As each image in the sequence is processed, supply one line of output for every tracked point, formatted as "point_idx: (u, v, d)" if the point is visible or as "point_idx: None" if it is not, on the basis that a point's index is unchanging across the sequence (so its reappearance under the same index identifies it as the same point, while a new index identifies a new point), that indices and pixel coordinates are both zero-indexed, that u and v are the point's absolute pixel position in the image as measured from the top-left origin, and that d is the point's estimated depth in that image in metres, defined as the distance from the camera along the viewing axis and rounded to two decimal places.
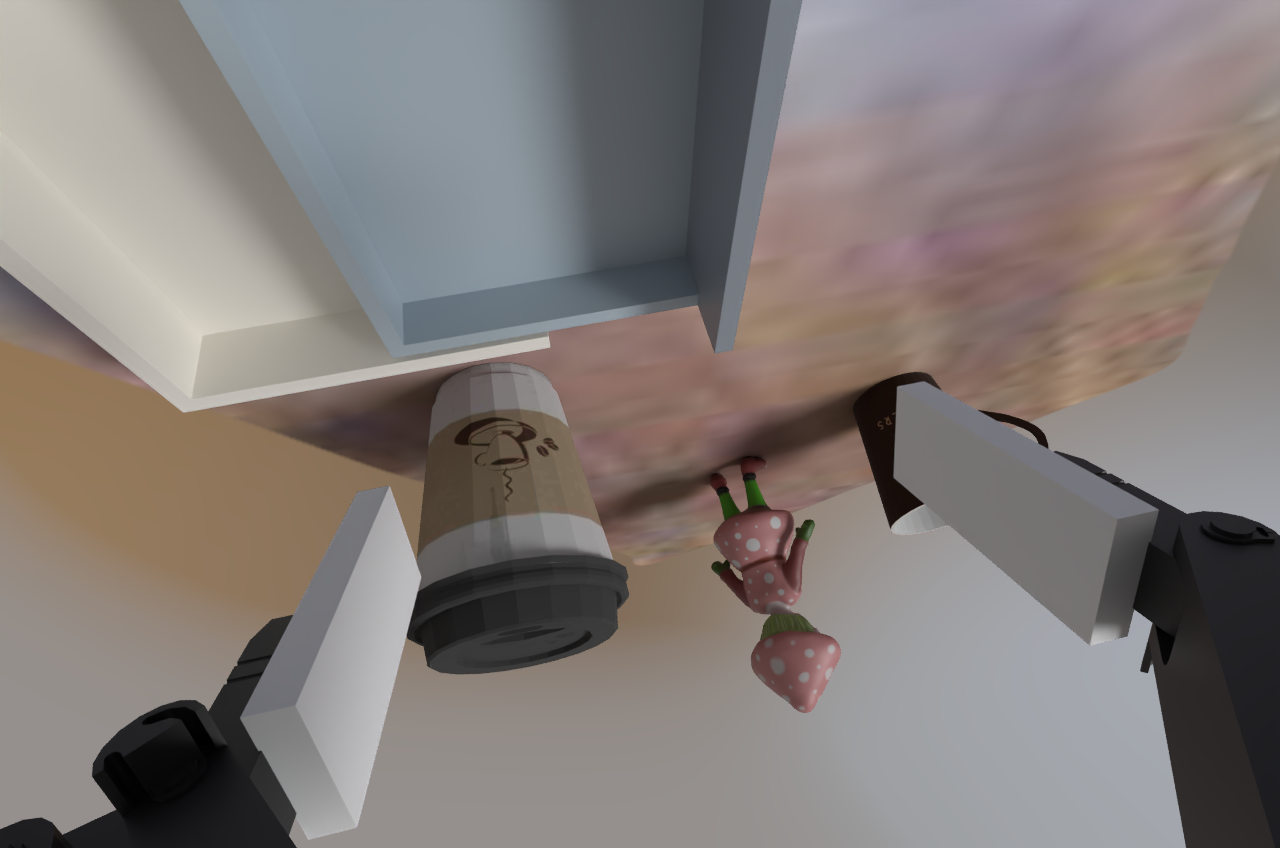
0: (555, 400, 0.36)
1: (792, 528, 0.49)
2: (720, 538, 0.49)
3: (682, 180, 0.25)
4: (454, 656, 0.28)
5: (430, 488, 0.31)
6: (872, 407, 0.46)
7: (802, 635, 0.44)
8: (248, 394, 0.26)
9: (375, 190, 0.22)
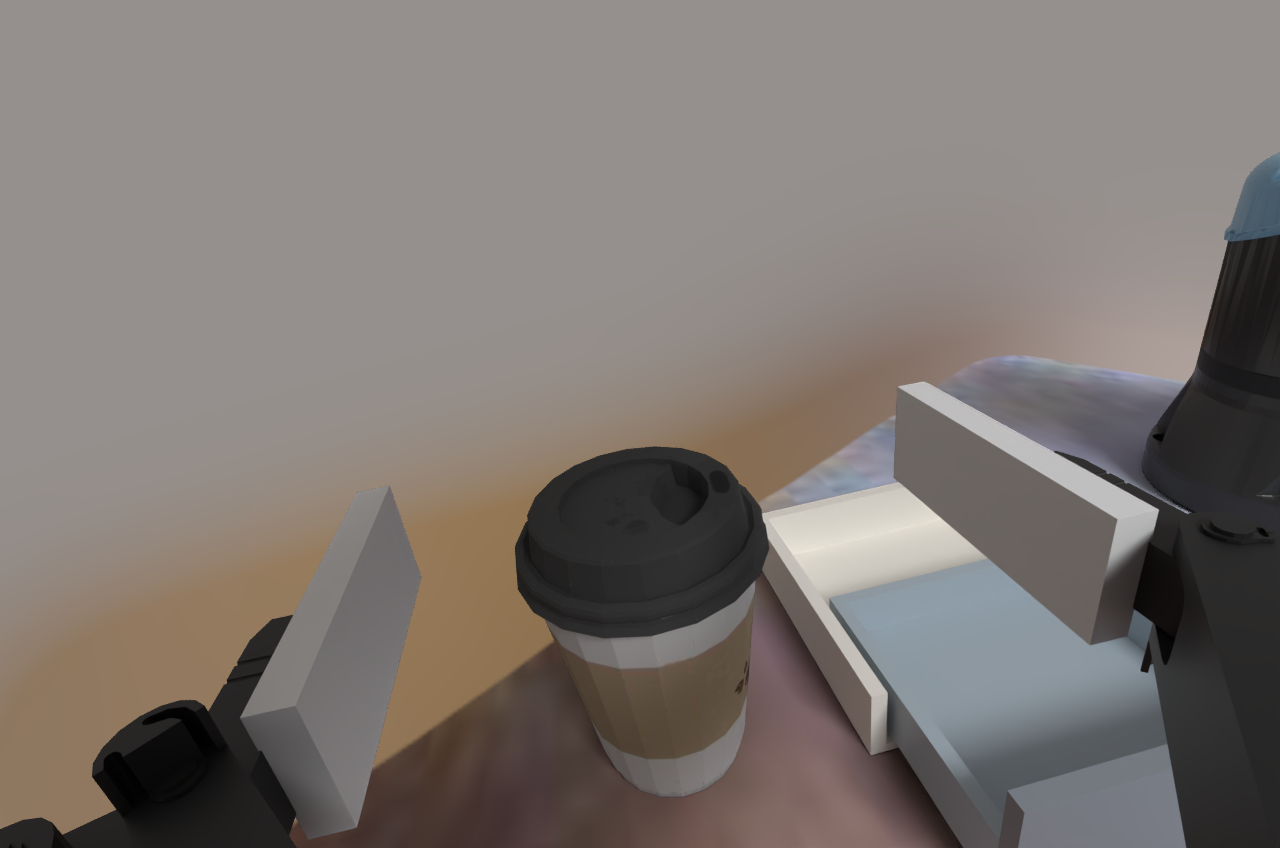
0: (717, 760, 0.29)
1: None
2: None
3: None
4: (658, 456, 0.29)
5: None
6: None
7: None
8: (774, 537, 0.40)
9: (951, 623, 0.35)
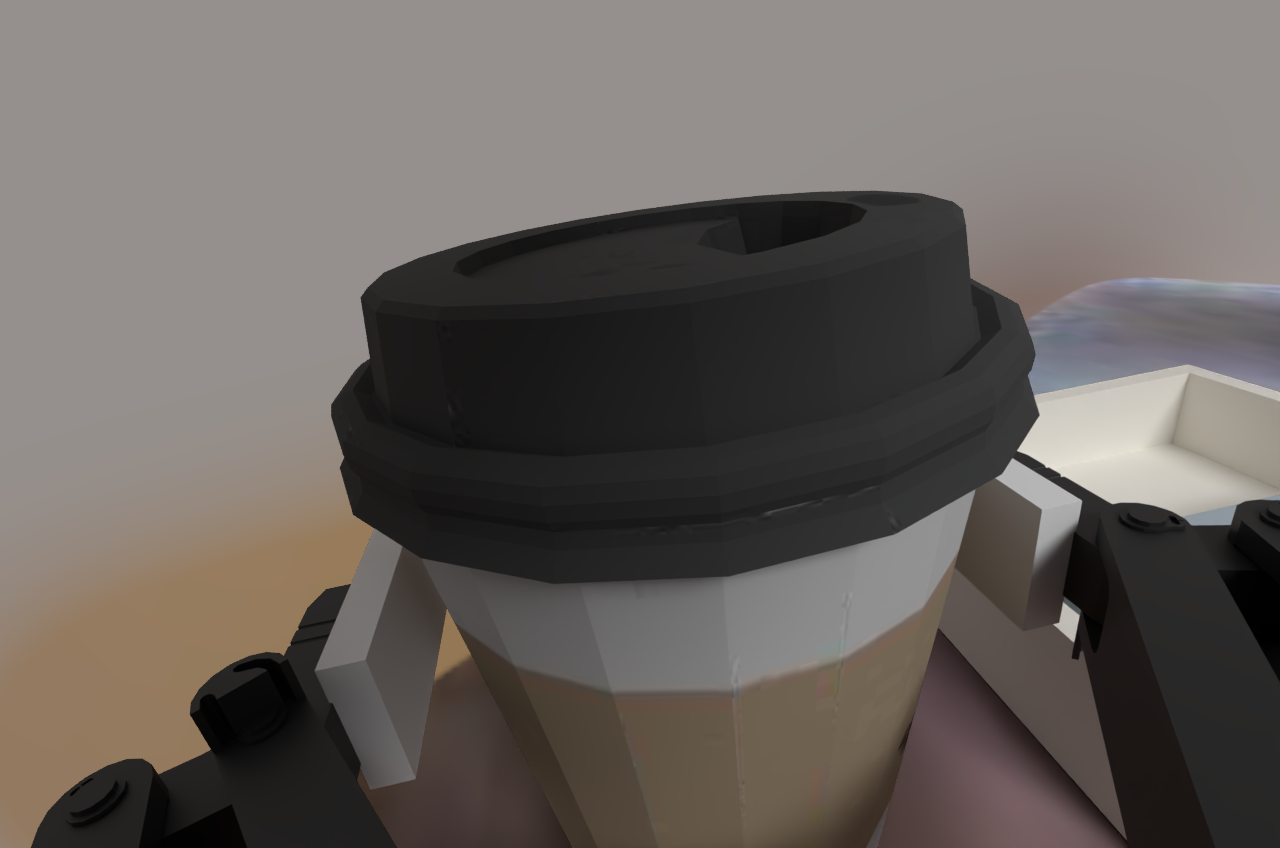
0: None
1: None
2: None
3: None
4: (709, 205, 0.13)
5: None
6: None
7: None
8: None
9: None
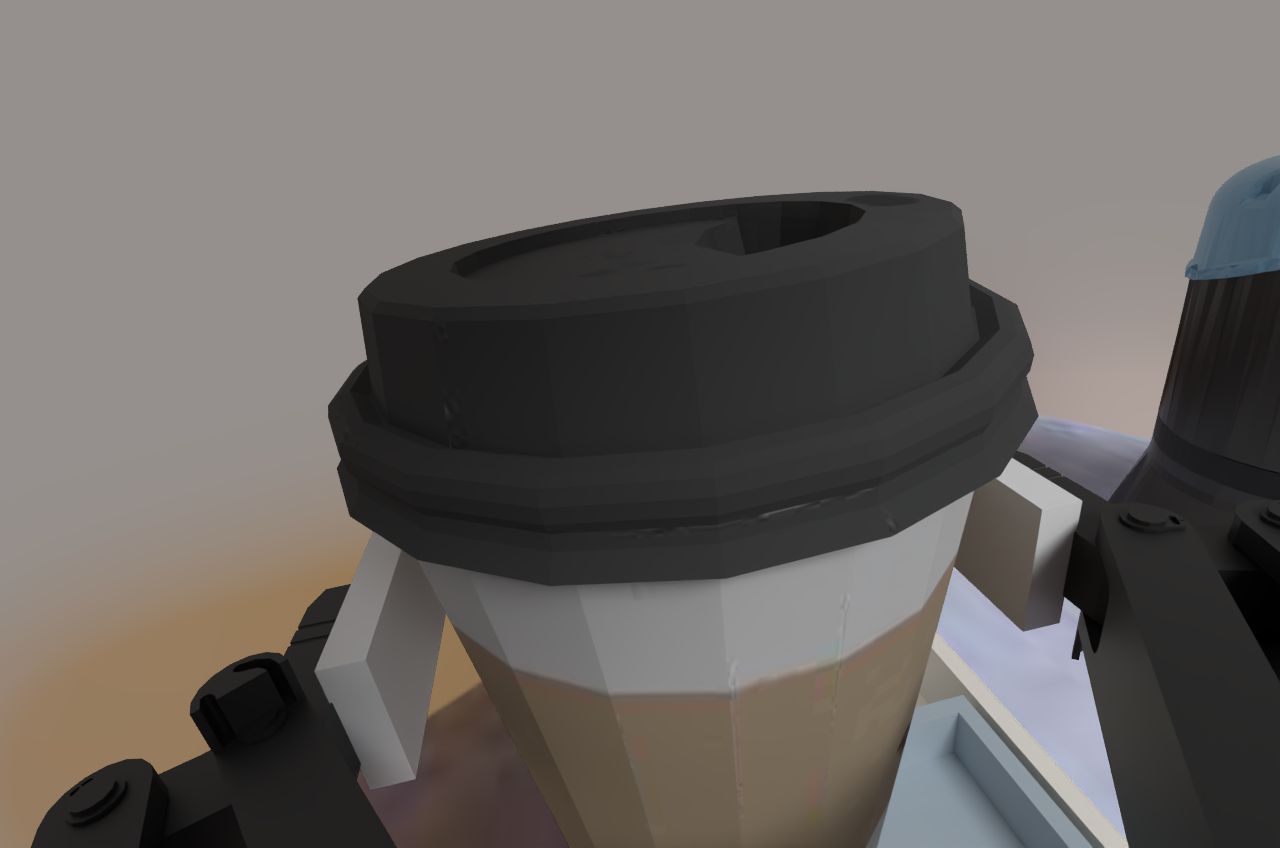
0: None
1: None
2: None
3: None
4: (707, 205, 0.13)
5: None
6: None
7: None
8: None
9: None
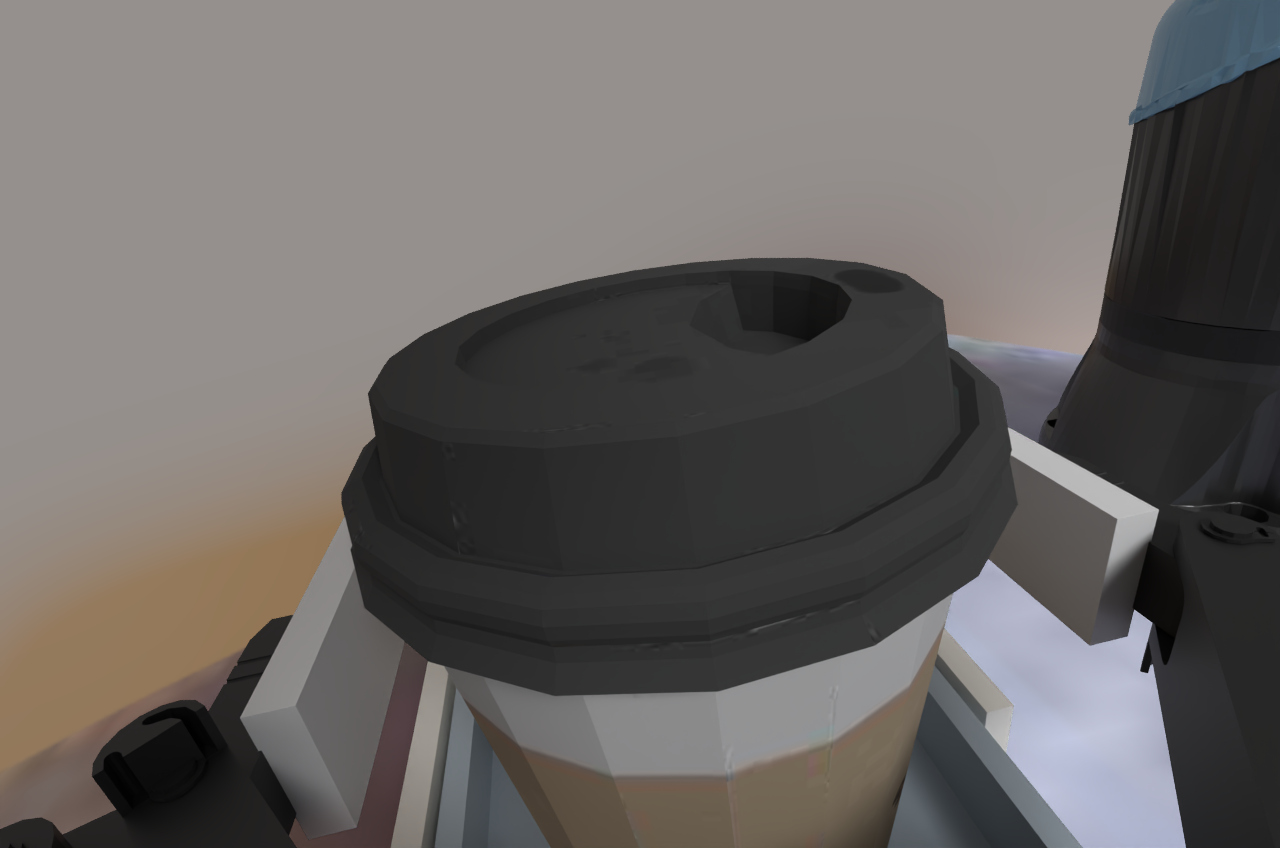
0: None
1: None
2: None
3: None
4: (703, 270, 0.13)
5: None
6: None
7: None
8: None
9: None
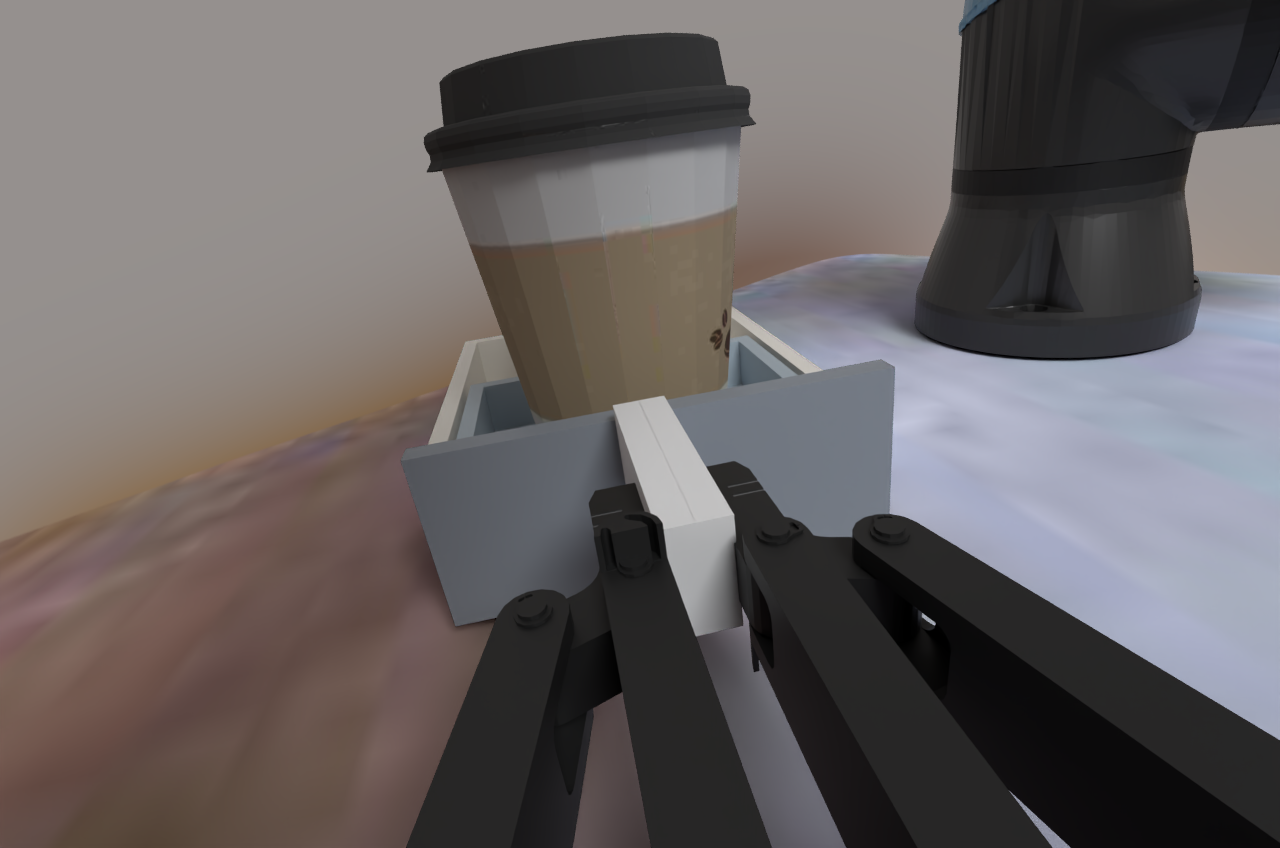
0: None
1: None
2: None
3: None
4: None
5: None
6: None
7: None
8: (467, 352, 0.37)
9: None
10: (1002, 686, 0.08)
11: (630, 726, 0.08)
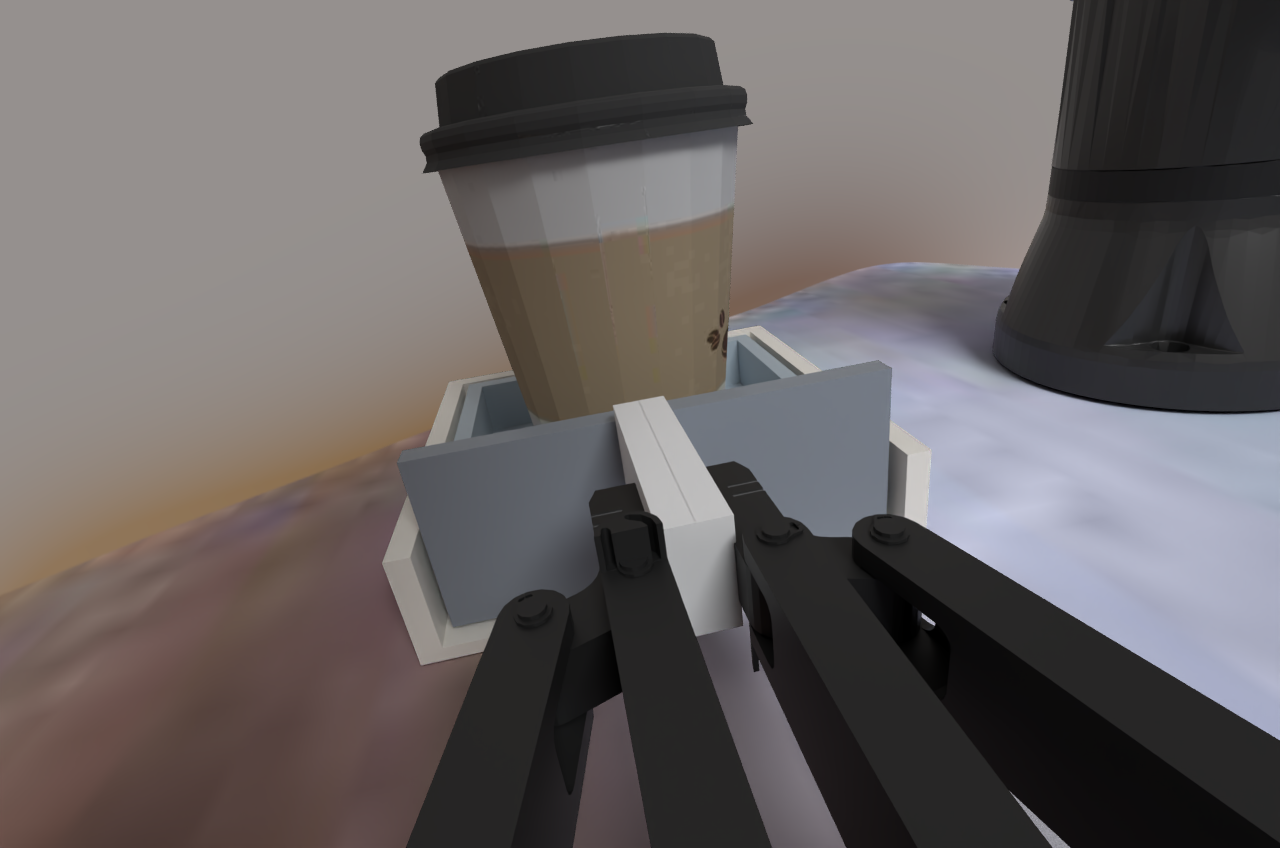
0: None
1: None
2: None
3: None
4: None
5: None
6: None
7: None
8: (450, 399, 0.30)
9: None
10: (1002, 686, 0.08)
11: (630, 726, 0.08)
